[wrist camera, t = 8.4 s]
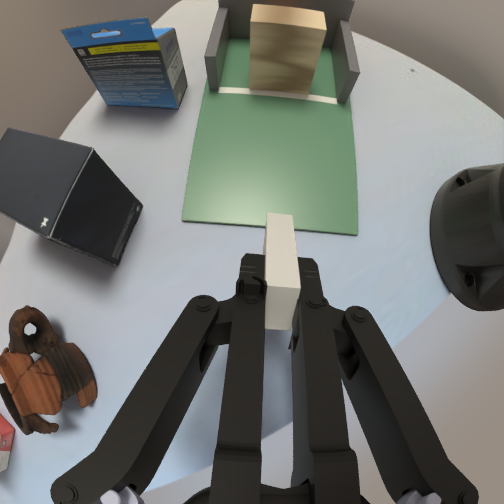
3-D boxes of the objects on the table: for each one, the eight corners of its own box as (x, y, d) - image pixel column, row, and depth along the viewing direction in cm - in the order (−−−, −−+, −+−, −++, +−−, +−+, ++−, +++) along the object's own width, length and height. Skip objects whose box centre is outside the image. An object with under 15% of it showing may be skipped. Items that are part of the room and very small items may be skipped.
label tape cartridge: (190, 83, 28) (170, -9, 16) (178, 110, 27) (150, 17, 15) (118, 81, 28) (81, 4, 16) (105, 107, 28) (58, 30, 15)
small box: (147, 200, 26) (97, 143, 15) (118, 269, 25) (49, 245, 14) (65, 172, 26) (7, 122, 16) (39, 230, 25) (-31, 198, 15)
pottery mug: (112, 425, 22) (45, 462, 15) (62, 393, 26) (6, 416, 19) (85, 302, 21) (-4, 324, 14) (40, 290, 25) (-27, 303, 18)
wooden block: (307, 74, 28) (323, 11, 19) (308, 94, 27) (326, 30, 18) (251, 69, 28) (253, 4, 19) (248, 88, 27) (250, 21, 18)
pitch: (340, 48, 30) (357, -2, 21) (356, 235, 25) (401, 204, 17) (218, 35, 30) (214, -18, 21) (182, 221, 25) (155, 182, 17)
